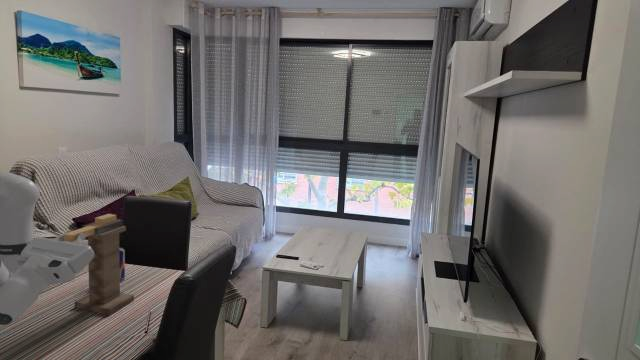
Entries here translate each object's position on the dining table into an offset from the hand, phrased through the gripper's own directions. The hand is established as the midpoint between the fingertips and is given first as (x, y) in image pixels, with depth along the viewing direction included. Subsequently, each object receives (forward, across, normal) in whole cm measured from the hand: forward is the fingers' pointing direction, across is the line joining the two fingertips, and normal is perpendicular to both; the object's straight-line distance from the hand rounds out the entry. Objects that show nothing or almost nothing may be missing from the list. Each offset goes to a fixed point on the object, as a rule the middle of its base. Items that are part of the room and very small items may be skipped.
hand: (76, 233), depth 123 cm
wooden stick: (+4, 0, -4) cm, 6 cm away
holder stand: (-5, 0, -30) cm, 30 cm away
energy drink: (+10, -10, -38) cm, 41 cm away
